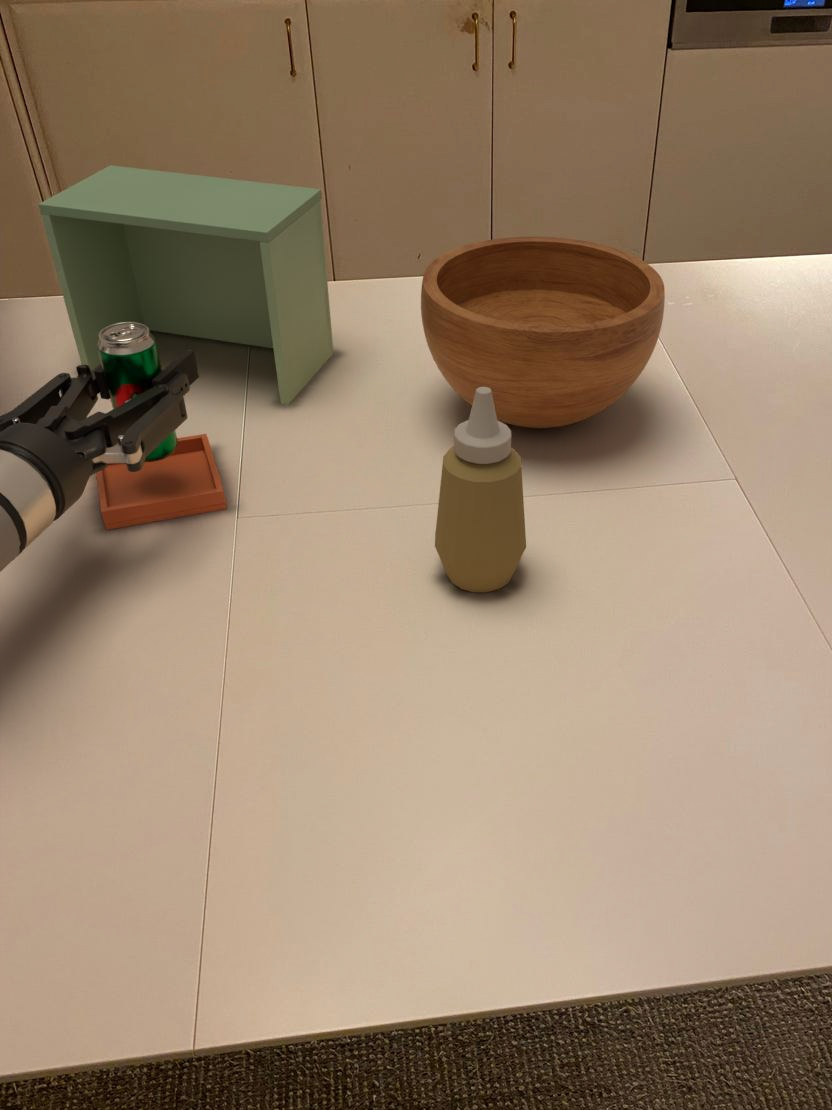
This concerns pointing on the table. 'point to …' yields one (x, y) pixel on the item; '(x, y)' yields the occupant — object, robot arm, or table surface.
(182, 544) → the table surface
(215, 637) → the table surface
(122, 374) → the soda can
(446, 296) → the bowl
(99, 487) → the tray
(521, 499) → the squeeze bottle
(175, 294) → the cubby
